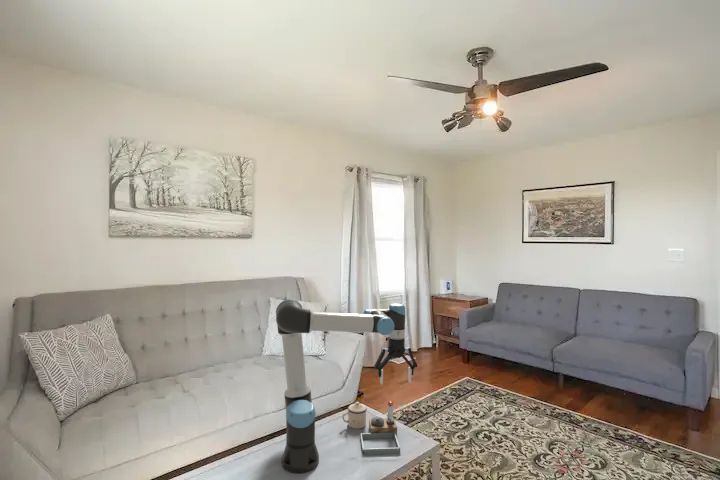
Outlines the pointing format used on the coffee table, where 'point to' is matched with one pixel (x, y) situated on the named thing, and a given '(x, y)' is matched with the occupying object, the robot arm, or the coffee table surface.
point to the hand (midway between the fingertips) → (395, 382)
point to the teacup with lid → (356, 415)
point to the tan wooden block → (381, 425)
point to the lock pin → (390, 413)
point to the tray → (379, 450)
